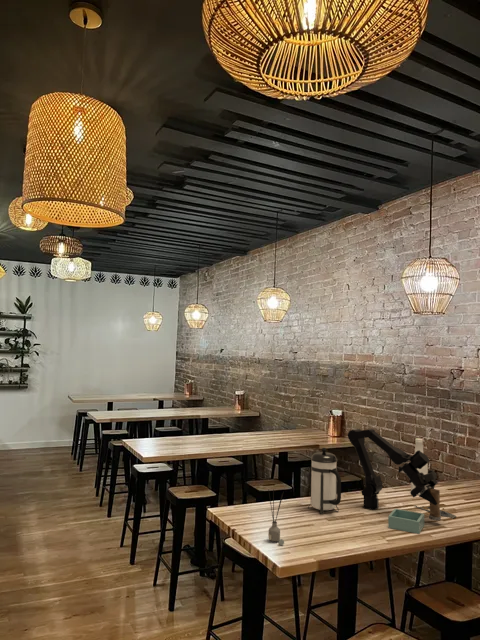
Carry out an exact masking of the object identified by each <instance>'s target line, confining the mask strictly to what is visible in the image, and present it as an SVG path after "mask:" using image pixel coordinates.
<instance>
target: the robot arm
mask: <svg viewBox="0 0 480 640" xmlns="http://www.w3.org/2000/svg"><path fill="white" fill-rule="evenodd" d="M347 438H348V440H349V442H350V443H351V445H352V446H353V447H354V448H355V451H356V454H357V457H358V459H359V460H358V461H359V462H360V464H361V465H360V466H361V467H362V470H363V473H364V484H365V487H364V488H363V489H362V490H361V491H360V492H361V495H362V496H363V505H362V508H364V509H369V510H374V511H375V510H377V509H378V508H379V501H380V500H379V498H378V495H379V494H380V492H381V491H382V489H383V484H384V482H383V481H382V479H381V475H377V474H376V473H375V471H374V468H373V466H372V463H371V461H370V457H369V454H368V451H367V449H366V446H365V443H366V442H365V438H368V439H369V440H371V442H374V444H375V445H376V446H378V447H379V448H380V449H381V450H382V451H384V452H385V453H386V454H387V456H388V457H389V459H390V460H391V462H393V464H394V465H398V469H397V470H398V473H402V472H403V473H404V474H405V475H406V476H407V478H408V479H409V480H408V482H409V483H410V484H411V482H412V483H413V484H414V486H415V488H414V489H413V490H412V491H411V490H410V495H411V497H412V498H417V496H418V497H419V498H422V499H424V500H426V501H427V502H429V503H430V502H431V503H432V504H434V505H437V502H436V501H435V499H434V498H433V496H432V495H431V493H430V488H431V489H435V488H436V487H435V486H437V484H438V483H439V482H438V481H437V480H438V477H437V475H438V474H437V473H436V471H434V469H431V470H428V474H425V475H424V474H423V473H422V472H421V473H420V472H419V471H418V470H417V469H421V468H422V467H424V466H425V465H426V464H427V463H428V464H429V463H430V459H429V457H428V455H427V454H425V453H424V452H423V453H422V452H420V450H418V451H417V452H416V453H415V452H414V453H413V455H411V454H408V453H407V452H406V451H404V450H402V449H401V448H399V447H395V446H394V445H392V444H391V443H390V442H389V441H387V440H386V439H385V438H384V437H382V435H380V434H379V433H378V432H376V430H375V429H374V428H369V429H364V430H363V429H360V428H356V429H350V430H349V431H348V433H347ZM419 493H420V494H421V495H417V494H419Z"/></svg>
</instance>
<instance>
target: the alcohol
mask: <svg viewBox="0 0 480 640" xmlns="http://www.w3.org/2000/svg"><path fill="white" fill-rule="evenodd" d="M414 442H415V447H414V454H415V453H416V452H417V451H418V450H420V452H422V453H424V444H423V443H424V439H423V438H420V437H419V438H417V437H416V438H415V441H414ZM428 464H429V462H428V463H427V464H426V465H425V466H424V467H422V468H421V469H417V470H418V471H419V472H420V473H421V472H422V473H423V474H424V475H425V474H428V471H429V470H428V466H429V465H428ZM414 488H415V486H414V484H413V483H412V482H411V483H410V492H411V491H412V490H413V489H414ZM419 495H421V494H420V493H419V494H417V496H419Z"/></svg>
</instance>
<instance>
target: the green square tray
mask: <svg viewBox="0 0 480 640" xmlns="http://www.w3.org/2000/svg"><path fill="white" fill-rule="evenodd" d="M387 521H388V522H387V523H388V524H387V525H388V526H387V527H388V529H391V530H392V529H393V530H398V531H402V532H408V533H412V534H418V535H419V534H420V533H421V532H422V530H423V528H424V527H425V513H421V512H416V511H411V510H405V509H400V508H394V509H393V510H392V511H391V512H390V513H389V515H388V517H387Z"/></svg>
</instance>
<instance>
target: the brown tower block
mask: <svg viewBox="0 0 480 640" xmlns="http://www.w3.org/2000/svg"><path fill="white" fill-rule="evenodd" d="M440 491H441V490H440V489H436V488H434V489H431V488H430V493H431V495H432V496H433V498H434V499H435V501H436V502H437V505H434V504H432V503H431V502H429V507H430V509H429V511H430V512H429V514H428V519H429V520H432V521H441V520H442V519H441V518H442V516H440V510H441V505H440V503H441V500H440V499H441V497H440V493H441V492H440Z"/></svg>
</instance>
